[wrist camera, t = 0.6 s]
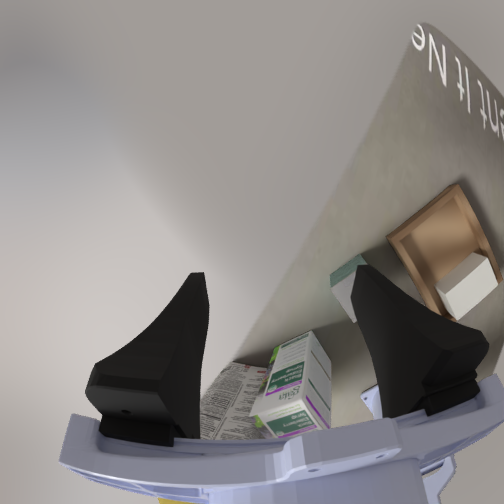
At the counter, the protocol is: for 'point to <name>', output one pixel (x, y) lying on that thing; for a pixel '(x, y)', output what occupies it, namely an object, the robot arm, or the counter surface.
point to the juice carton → (229, 407)
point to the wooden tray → (440, 243)
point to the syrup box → (294, 390)
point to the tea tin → (345, 284)
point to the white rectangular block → (466, 285)
